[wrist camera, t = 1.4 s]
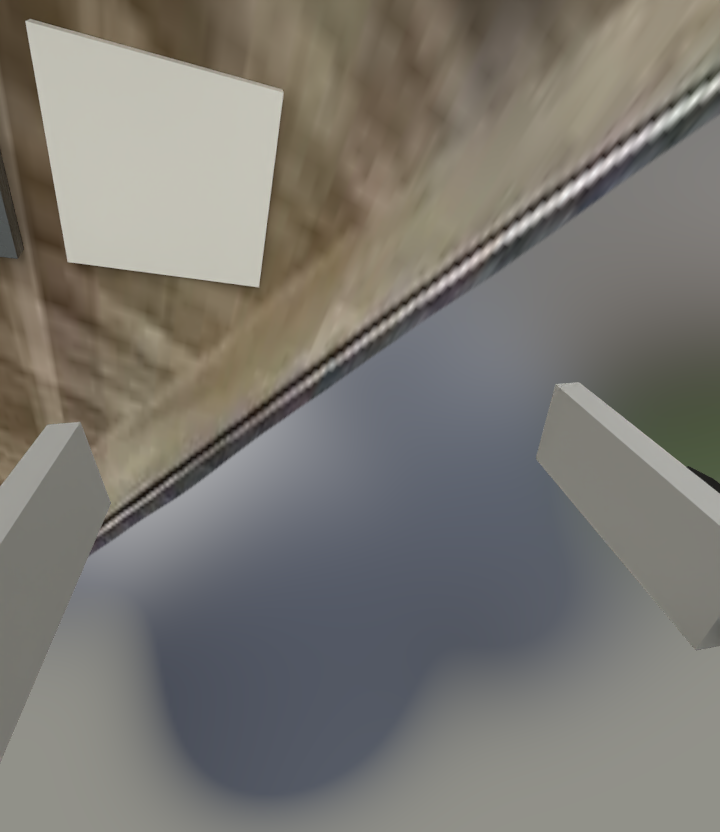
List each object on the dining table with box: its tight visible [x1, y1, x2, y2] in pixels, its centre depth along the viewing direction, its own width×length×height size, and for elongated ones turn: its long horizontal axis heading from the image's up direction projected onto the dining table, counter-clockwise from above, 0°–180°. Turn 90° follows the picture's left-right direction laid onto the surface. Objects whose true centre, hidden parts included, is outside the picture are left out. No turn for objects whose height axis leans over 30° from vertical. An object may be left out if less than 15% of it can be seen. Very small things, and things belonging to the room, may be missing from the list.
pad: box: [25, 19, 284, 287], centre depth 32 cm, size 14×14×1 cm
